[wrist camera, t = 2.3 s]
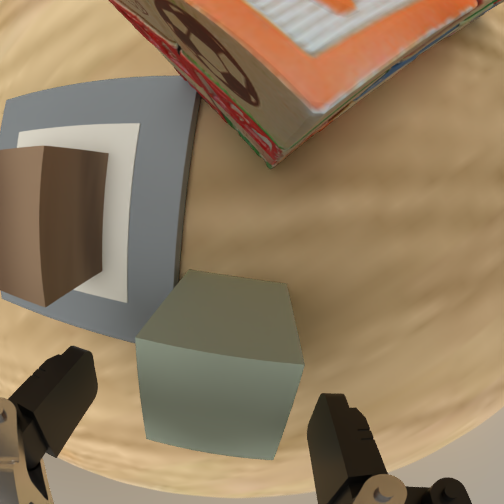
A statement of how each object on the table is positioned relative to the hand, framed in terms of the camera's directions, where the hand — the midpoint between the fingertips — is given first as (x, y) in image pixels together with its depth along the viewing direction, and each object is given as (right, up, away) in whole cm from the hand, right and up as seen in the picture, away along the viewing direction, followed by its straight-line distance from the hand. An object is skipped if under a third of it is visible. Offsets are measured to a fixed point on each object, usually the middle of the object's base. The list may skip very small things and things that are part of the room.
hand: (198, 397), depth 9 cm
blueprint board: (-9, +7, +5) cm, 12 cm away
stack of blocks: (+9, +18, +3) cm, 20 cm away
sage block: (+1, +1, +7) cm, 7 cm away
